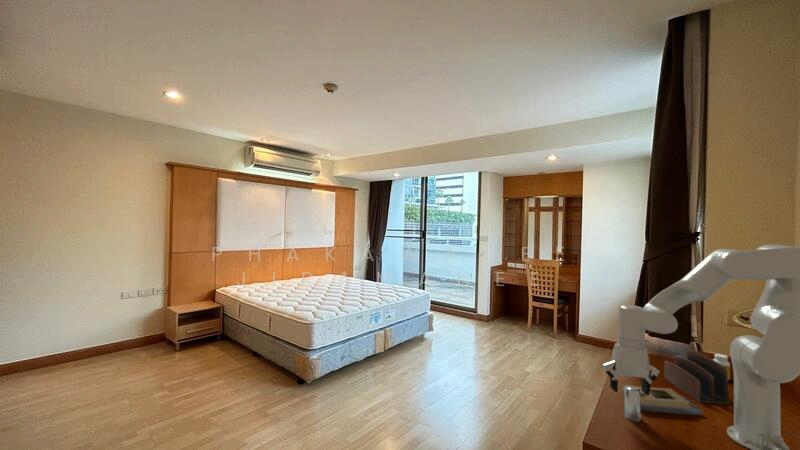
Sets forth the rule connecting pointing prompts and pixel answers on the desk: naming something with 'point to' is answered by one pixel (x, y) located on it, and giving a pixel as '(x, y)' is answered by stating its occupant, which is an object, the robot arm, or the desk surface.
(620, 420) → the desk surface
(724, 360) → the supplement bottle
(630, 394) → the steel pin
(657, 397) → the square hole plate
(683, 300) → the robot arm
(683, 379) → the letter holder
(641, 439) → the desk surface
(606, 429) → the desk surface
